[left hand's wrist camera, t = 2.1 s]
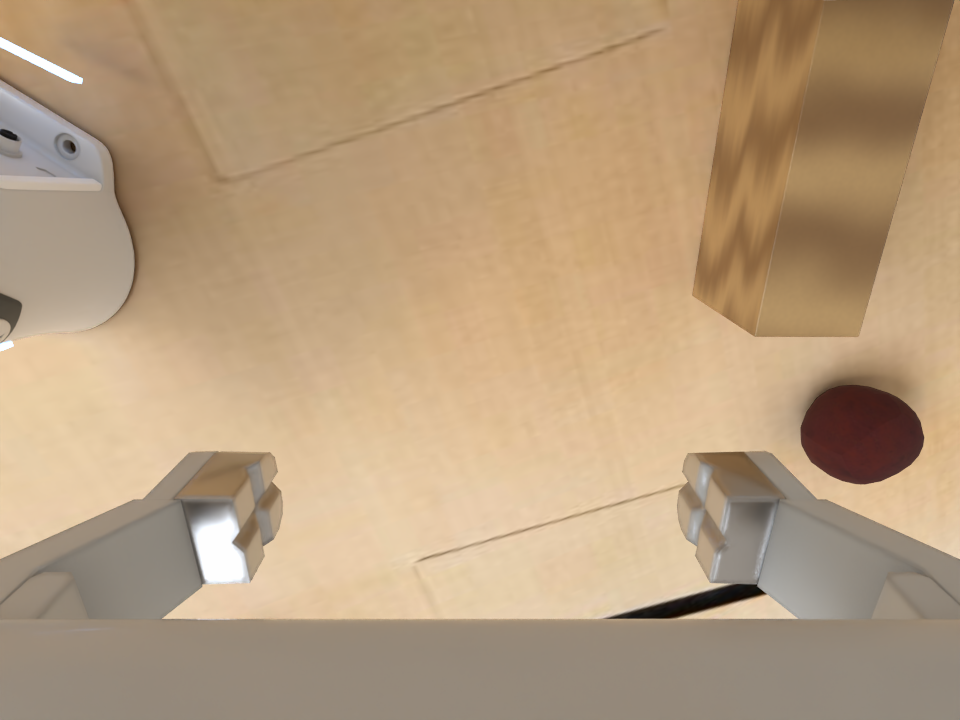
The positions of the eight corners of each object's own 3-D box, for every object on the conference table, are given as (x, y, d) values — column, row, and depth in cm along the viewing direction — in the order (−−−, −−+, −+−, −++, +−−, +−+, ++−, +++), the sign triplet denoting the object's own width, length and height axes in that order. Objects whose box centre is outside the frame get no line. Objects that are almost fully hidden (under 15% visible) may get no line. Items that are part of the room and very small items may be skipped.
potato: (893, 410, 43) (966, 455, 37) (813, 467, 45) (869, 519, 39) (845, 353, 41) (914, 390, 35) (764, 415, 44) (814, 461, 37)
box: (772, 295, 40) (859, 337, 31) (691, 295, 40) (754, 337, 31) (843, -36, 32) (986, -111, 23) (743, -36, 32) (847, -111, 23)
